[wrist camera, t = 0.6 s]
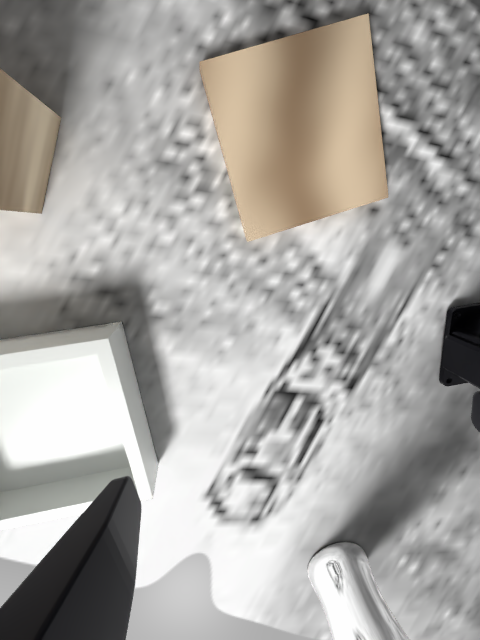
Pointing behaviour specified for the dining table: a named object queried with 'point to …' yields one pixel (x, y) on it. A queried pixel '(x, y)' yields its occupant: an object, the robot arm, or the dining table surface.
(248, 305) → the dining table surface
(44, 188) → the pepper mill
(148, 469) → the tray
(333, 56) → the cork coaster
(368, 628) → the beer glass
